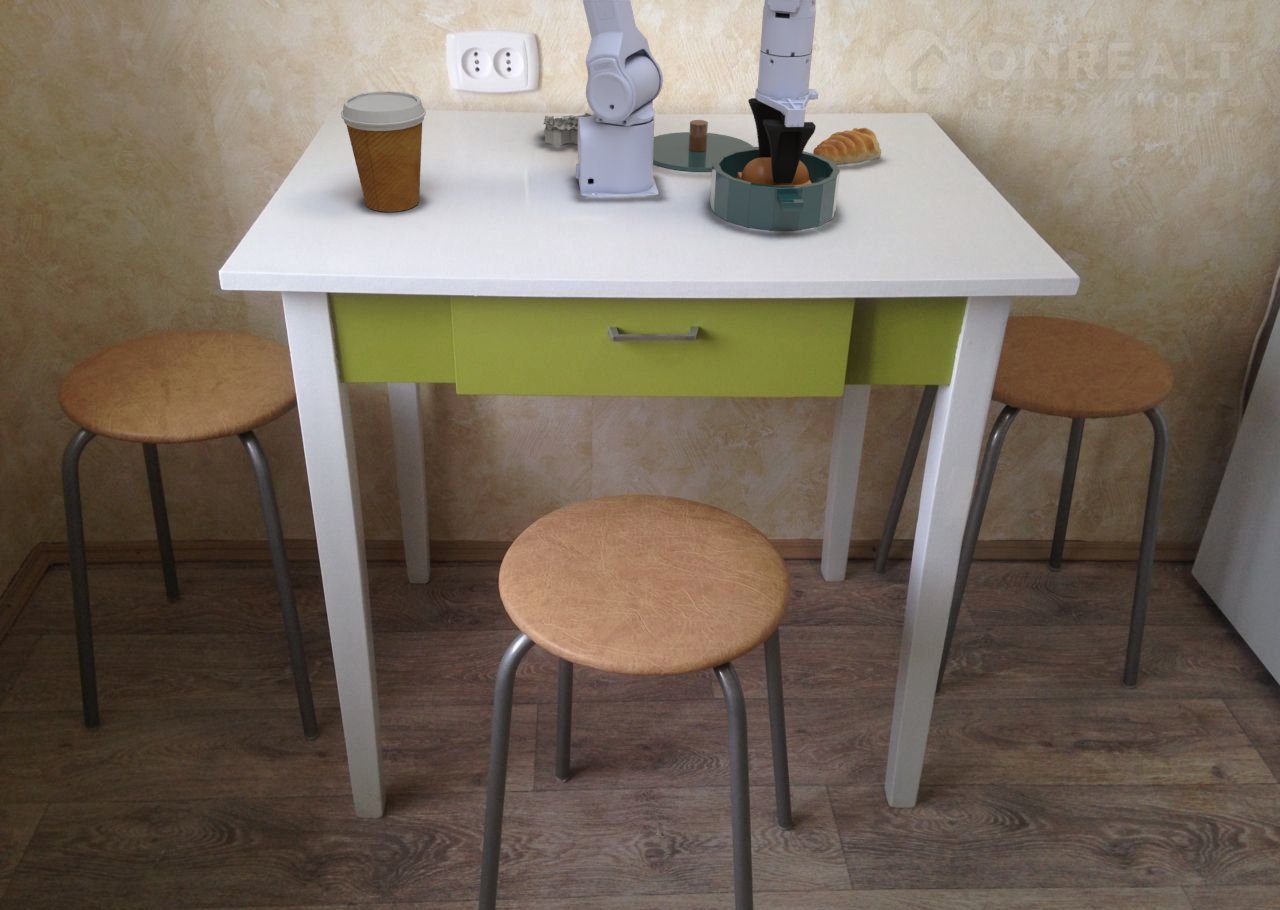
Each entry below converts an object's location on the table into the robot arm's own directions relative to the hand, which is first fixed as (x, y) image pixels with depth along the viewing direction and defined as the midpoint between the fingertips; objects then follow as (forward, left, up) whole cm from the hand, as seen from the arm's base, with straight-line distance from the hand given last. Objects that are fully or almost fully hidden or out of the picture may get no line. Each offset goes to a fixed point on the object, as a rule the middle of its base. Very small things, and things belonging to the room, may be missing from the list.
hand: (776, 171), depth 133 cm
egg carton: (-21, +28, -5) cm, 35 cm away
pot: (0, 0, -5) cm, 5 cm away
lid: (-6, +21, -4) cm, 22 cm away
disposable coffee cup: (-45, +5, -5) cm, 46 cm away
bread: (0, 0, -5) cm, 5 cm away
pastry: (+14, +19, -5) cm, 24 cm away
